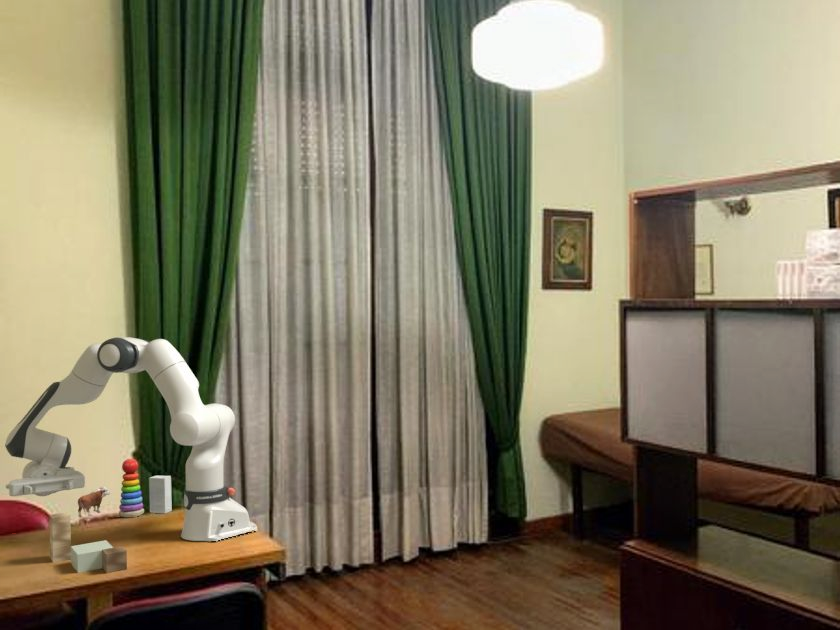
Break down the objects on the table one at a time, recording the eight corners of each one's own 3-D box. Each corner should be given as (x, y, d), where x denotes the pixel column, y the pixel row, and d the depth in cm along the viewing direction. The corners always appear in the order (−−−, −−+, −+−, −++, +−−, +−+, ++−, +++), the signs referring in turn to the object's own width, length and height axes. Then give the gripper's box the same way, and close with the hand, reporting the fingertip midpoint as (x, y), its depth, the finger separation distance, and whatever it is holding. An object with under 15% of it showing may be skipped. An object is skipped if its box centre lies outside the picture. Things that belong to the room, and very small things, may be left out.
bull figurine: (112, 509, 266) (112, 485, 266) (83, 519, 253) (83, 494, 253) (102, 508, 267) (102, 484, 267) (73, 518, 254) (72, 493, 254)
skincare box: (172, 510, 262) (171, 475, 262) (165, 514, 258) (164, 478, 258) (156, 509, 264) (155, 475, 264) (149, 513, 260) (148, 477, 260)
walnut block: (122, 564, 206) (121, 546, 206) (126, 569, 202) (126, 550, 202) (102, 568, 204) (102, 549, 204) (106, 573, 199) (106, 554, 199)
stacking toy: (148, 512, 261) (147, 456, 261) (137, 518, 253) (136, 461, 253) (126, 511, 262) (125, 456, 262) (114, 518, 254) (113, 461, 254)
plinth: (106, 558, 213) (106, 540, 213) (114, 566, 205) (113, 548, 205) (71, 564, 208) (70, 546, 208) (77, 573, 200) (77, 554, 200)
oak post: (67, 555, 215) (67, 512, 215) (71, 559, 211) (70, 515, 211) (50, 558, 213) (49, 514, 213) (53, 562, 209) (52, 518, 209)
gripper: (4, 474, 227) (10, 483, 216) (79, 466, 239) (88, 473, 228) (4, 495, 227) (10, 505, 216) (79, 486, 239) (88, 495, 228)
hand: (51, 489), depth 222 cm, fingers open, 8 cm apart
